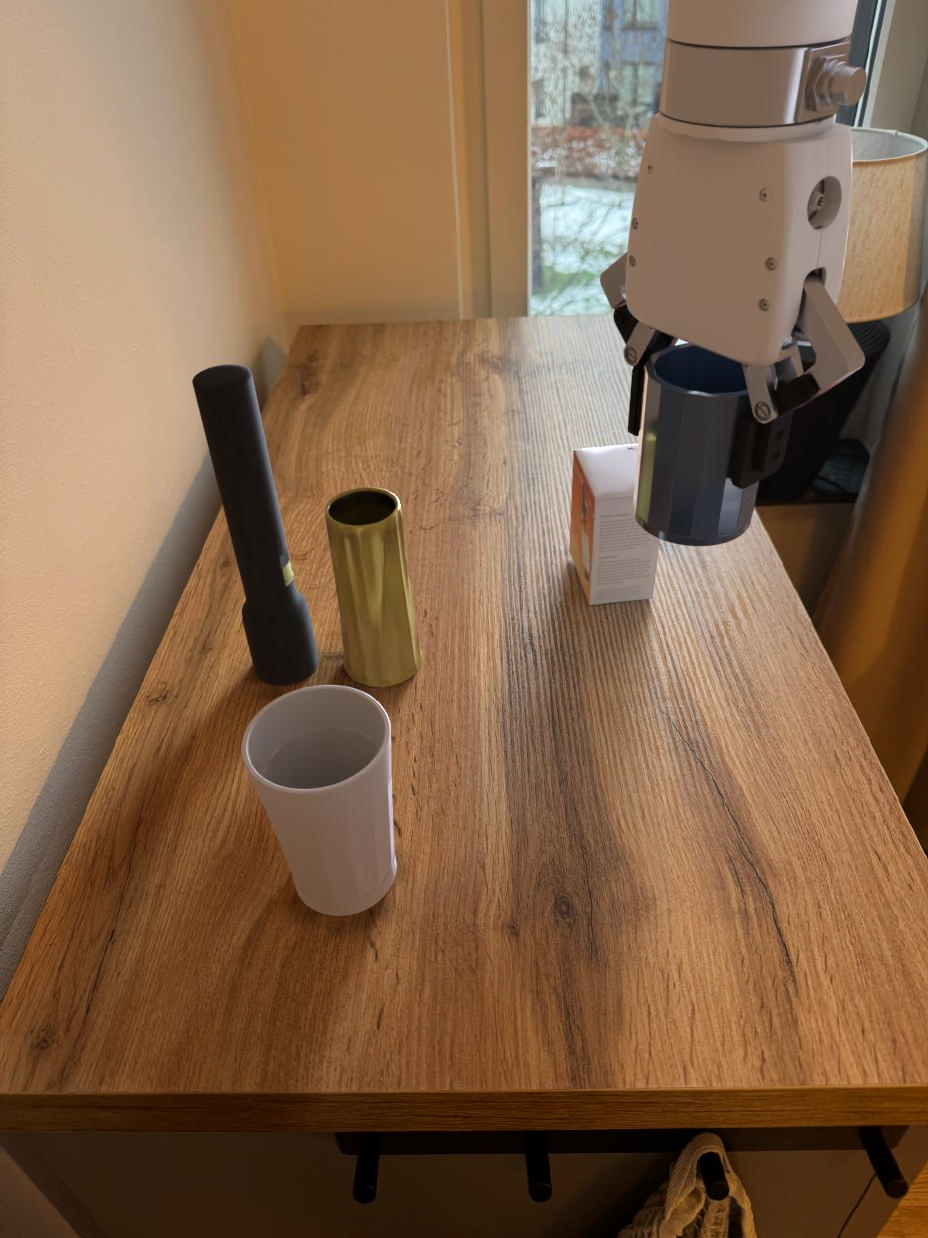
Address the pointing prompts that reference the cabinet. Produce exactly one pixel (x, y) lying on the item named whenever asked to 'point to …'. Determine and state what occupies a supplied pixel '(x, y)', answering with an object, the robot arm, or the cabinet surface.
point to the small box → (609, 527)
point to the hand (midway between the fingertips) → (700, 449)
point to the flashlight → (255, 527)
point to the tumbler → (692, 448)
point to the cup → (327, 793)
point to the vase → (373, 587)
